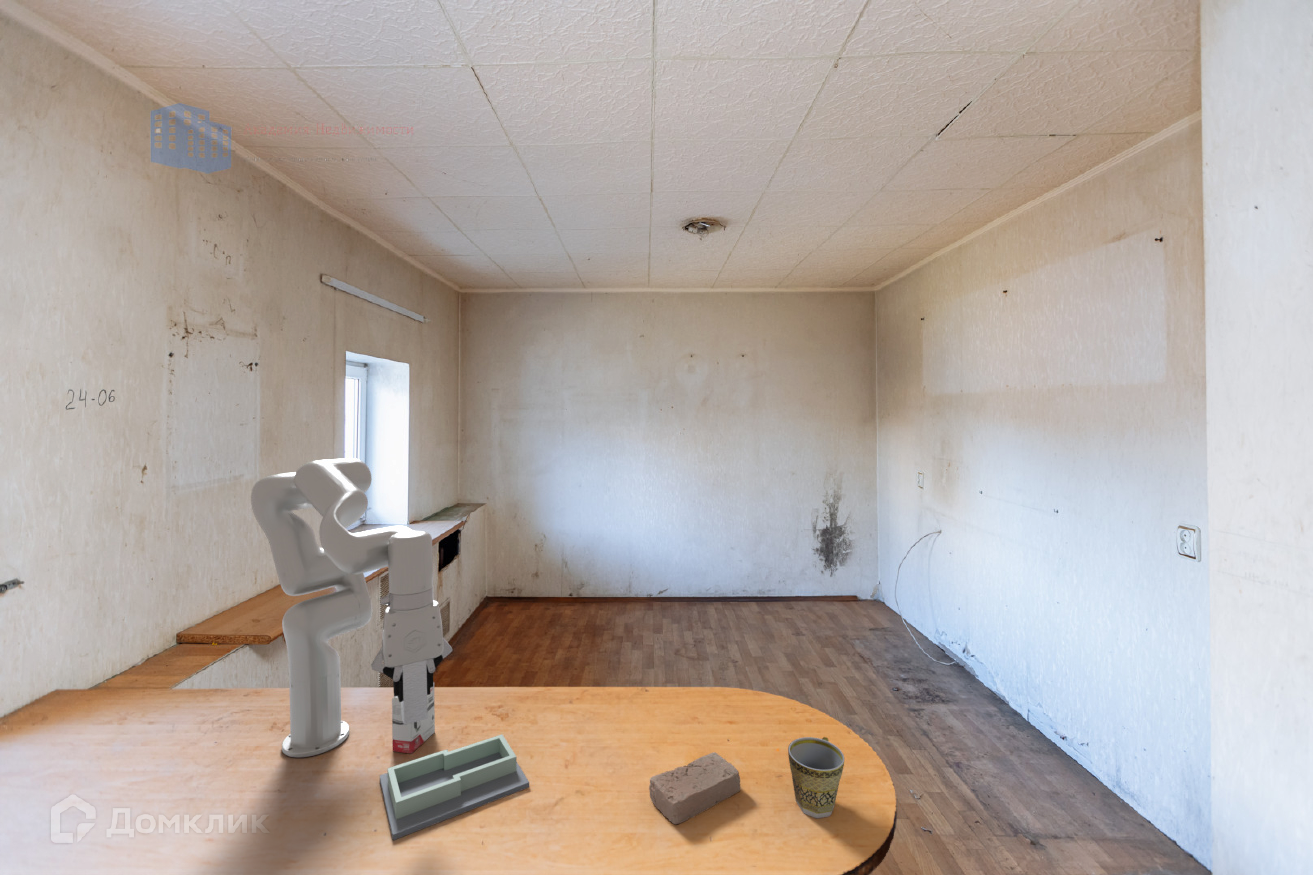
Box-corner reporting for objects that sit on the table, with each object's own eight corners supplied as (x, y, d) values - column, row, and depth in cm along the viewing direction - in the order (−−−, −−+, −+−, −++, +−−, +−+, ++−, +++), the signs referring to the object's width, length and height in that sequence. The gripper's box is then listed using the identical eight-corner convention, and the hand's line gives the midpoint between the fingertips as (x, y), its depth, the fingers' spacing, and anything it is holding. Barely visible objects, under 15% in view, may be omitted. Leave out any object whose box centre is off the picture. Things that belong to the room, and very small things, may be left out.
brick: (714, 769, 111) (714, 746, 111) (742, 792, 104) (743, 768, 104) (647, 801, 101) (647, 777, 101) (673, 830, 94) (673, 804, 94)
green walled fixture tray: (379, 780, 106) (379, 760, 106) (500, 740, 120) (500, 722, 119) (392, 840, 91) (392, 817, 91) (529, 786, 105) (529, 766, 104)
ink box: (411, 754, 114) (410, 700, 114) (391, 751, 115) (390, 697, 115) (436, 731, 123) (435, 680, 122) (417, 728, 124) (416, 678, 123)
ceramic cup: (835, 833, 93) (836, 777, 93) (779, 811, 99) (780, 758, 98) (852, 789, 104) (853, 739, 104) (801, 771, 110) (802, 723, 109)
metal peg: (401, 715, 102) (399, 652, 101) (423, 708, 104) (422, 647, 104) (404, 725, 98) (402, 660, 98) (427, 718, 101) (426, 655, 100)
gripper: (362, 613, 93) (364, 717, 93) (462, 595, 102) (464, 691, 102) (359, 601, 99) (361, 699, 100) (454, 585, 108) (456, 675, 109)
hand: (413, 694), depth 101 cm, fingers closed on metal peg, 4 cm apart
